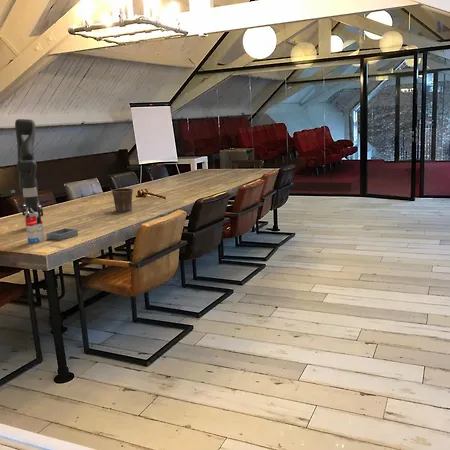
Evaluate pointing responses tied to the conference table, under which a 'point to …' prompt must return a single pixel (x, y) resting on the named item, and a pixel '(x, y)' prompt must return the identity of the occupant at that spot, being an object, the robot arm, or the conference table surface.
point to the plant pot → (123, 199)
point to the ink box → (34, 230)
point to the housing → (62, 234)
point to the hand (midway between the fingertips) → (33, 223)
